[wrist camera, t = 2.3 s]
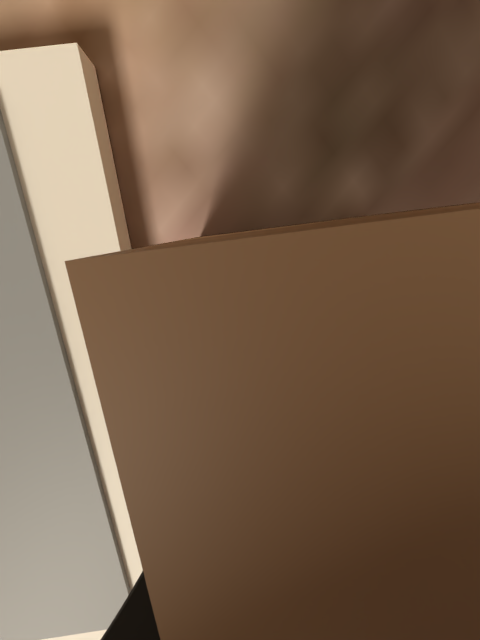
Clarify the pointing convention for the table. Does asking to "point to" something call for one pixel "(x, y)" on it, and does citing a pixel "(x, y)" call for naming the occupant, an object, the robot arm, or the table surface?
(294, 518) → the brown slab
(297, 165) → the table surface
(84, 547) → the tan rimmed flat piece
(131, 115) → the table surface
